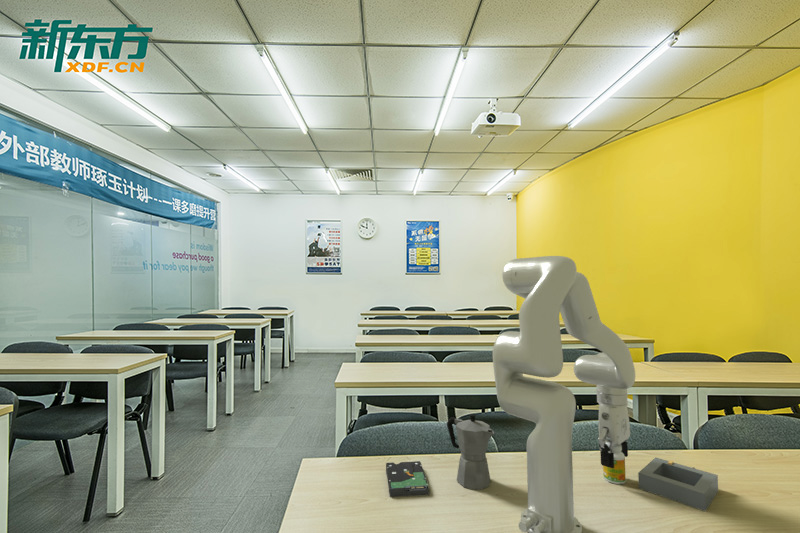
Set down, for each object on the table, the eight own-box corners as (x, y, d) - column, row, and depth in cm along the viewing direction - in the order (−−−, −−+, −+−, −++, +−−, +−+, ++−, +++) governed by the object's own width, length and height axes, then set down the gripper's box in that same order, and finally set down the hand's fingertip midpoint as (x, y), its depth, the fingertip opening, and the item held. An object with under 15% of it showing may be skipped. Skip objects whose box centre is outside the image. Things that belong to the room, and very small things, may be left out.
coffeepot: (504, 483, 104) (502, 415, 105) (485, 497, 98) (484, 424, 99) (457, 465, 115) (456, 404, 116) (437, 476, 108) (437, 411, 109)
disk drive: (385, 472, 112) (389, 499, 98) (385, 462, 112) (389, 488, 98) (420, 470, 113) (430, 496, 99) (420, 460, 114) (430, 485, 99)
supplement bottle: (605, 483, 104) (604, 446, 105) (601, 473, 110) (600, 438, 110) (628, 486, 103) (626, 448, 103) (622, 476, 108) (621, 441, 108)
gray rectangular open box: (705, 511, 91) (704, 492, 91) (638, 488, 102) (638, 471, 102) (725, 479, 106) (724, 463, 106) (665, 462, 117) (665, 447, 117)
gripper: (614, 408, 99) (617, 476, 98) (638, 394, 110) (640, 455, 110) (584, 401, 105) (587, 466, 104) (610, 389, 116) (612, 447, 115)
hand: (614, 460), depth 107 cm, fingers open, 9 cm apart
